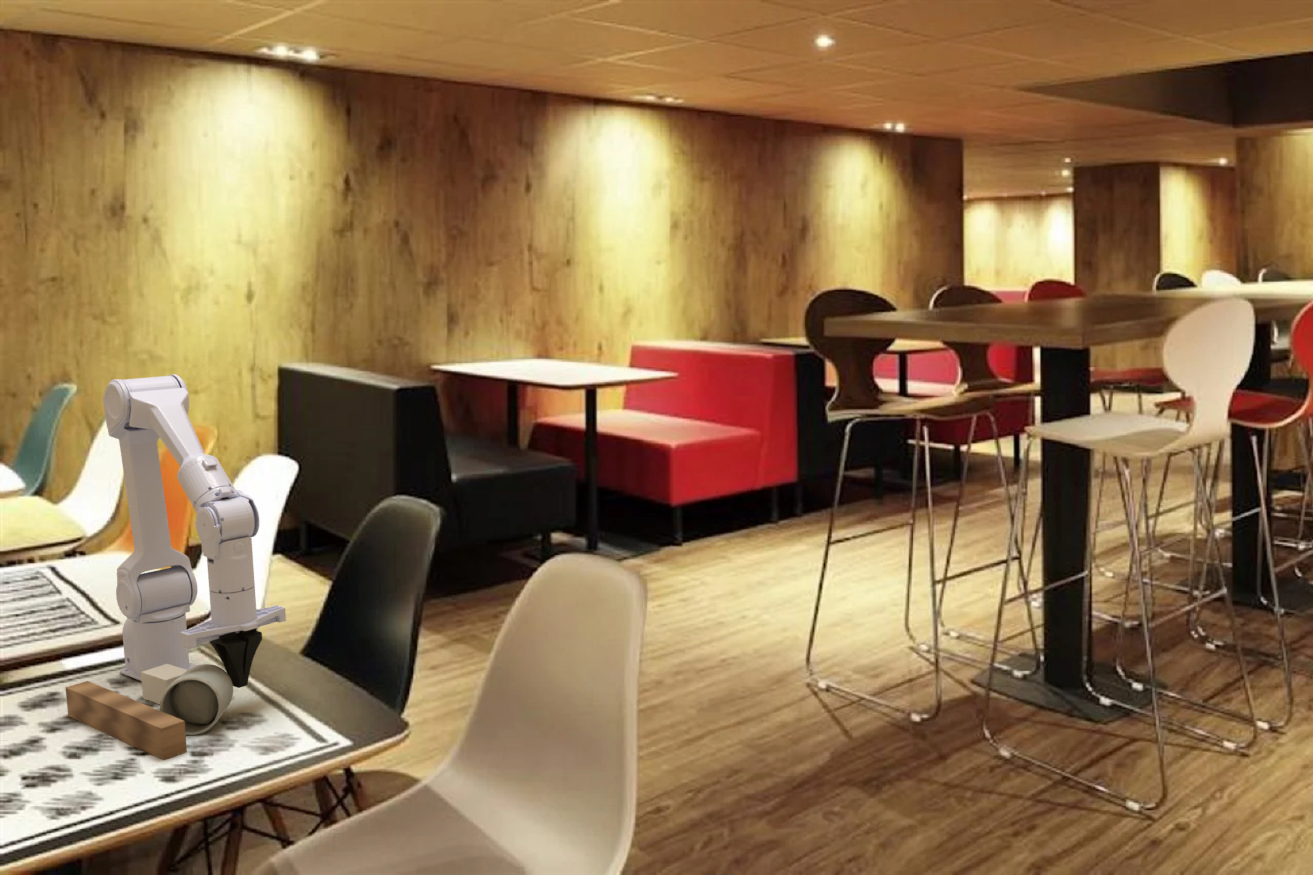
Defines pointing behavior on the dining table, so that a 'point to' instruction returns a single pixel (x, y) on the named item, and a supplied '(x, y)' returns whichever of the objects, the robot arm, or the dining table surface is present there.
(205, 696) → the ceramic mug
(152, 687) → the beige rectangular block
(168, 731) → the walnut rail
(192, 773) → the dining table surface
